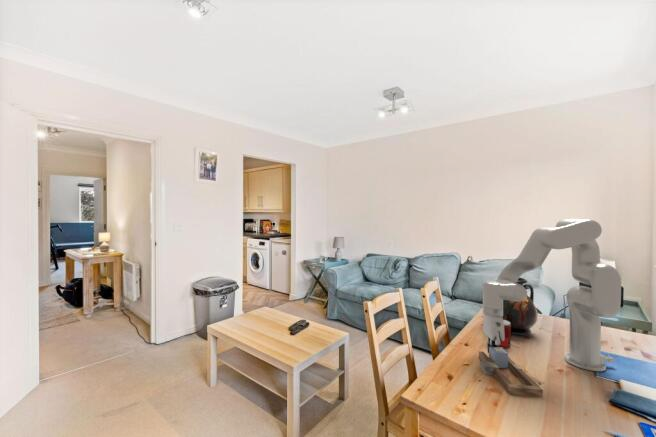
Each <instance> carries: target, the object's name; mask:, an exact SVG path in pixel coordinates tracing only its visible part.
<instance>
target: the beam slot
mask: <svg viewBox="0 0 656 437" xmlns="http://www.w3.org/2000/svg"><path fill="white" fill-rule="evenodd" d="M478 358H479V359H480V370H481V371H482V372H483V373H484V375H490V376H494V377H495V378H496V379H497V381H498V382H499V383H500V384H501V386H502V387H503V388H504V390H506V391H507V393H509V395H513V396H515V395H516V396H528V397H540V398H541V397H543V395H544V394H543V392H544V389H543V388H542V387H541V386H540V385H539V384H537V383H536V382H535V381H534V380H533V379H532V377H531V376H529V375H528V374H527V373H526V372H525V371H524V370H523V368H522V367H521V366H520V365H518V364H516V362H514V361H513V359H511V358H510V357H509V356H508V369H509V370H510V371H511V372H513V374H515V375H516V378H519V380H520V381H521V382H522V383H523V384H513V382H511V380H510V379H509V378H508V377H507V376H506V375H505V374H504V372H502V371H501V369H500V368H498V366H497V365H496V364H495V363H493V362H492V361H491V360H490V358H489V355H488V354H486V353H485V352H484V351H481V350H479V351H478Z"/></svg>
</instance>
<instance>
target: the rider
mask: <svg viewBox="0 0 656 437" xmlns="http://www.w3.org/2000/svg"><path fill="white" fill-rule="evenodd" d="M488 357H489V358H490V360H491V361H492V362H493V363H495V364H496V365H497V366H498V368H499V369H500V368H501V369H509V367H508V357H509V353H508V352H507V351H506V350H505V348H502V347H489V353H488Z"/></svg>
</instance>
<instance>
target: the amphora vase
mask: <svg viewBox="0 0 656 437" xmlns="http://www.w3.org/2000/svg"><path fill="white" fill-rule="evenodd" d="M516 283H518V284H520V285H522V286H523V287H524V288H525V289H526V288H527V287H528V288H529V292H530V294H529V295H528V294H527V297H526V298H525V299H524V300H523V301H519V302H514V301H509V300H503V320H506V321H509V322H510V324H511V337H512V336H514V337H521V338H523V337H529V336H531V334H532V329H531V328H533V327H534V325H536V324H537V321H538V311H537V307H536V306H535V303H534V294H535V291H534V288H533V286H532V285H531V284H527V283H528V280H527V279H525V278H522V277H519V278H518V280H517V281H516Z"/></svg>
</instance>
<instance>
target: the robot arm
mask: <svg viewBox="0 0 656 437" xmlns="http://www.w3.org/2000/svg"><path fill="white" fill-rule="evenodd" d="M602 230H603V228H602V226H601V224H600V223H599V222H598V221H596V220H594V219H591V218H565V219H562V220H561V219H560V220H559V221H558V222H556V224H555V227H548V226H547V227H545V226H543V227H538V228H536V229H534V231H533V232H532V233H531V235H530V236H529V238H528V240H527V242H526V243H525V245H524V246H523V248H522V250H521V251H520V253H519V255H518V256H517V257H516V258H515V259H513V260H512V261H511V262H509V263H508V264H507V265H506V266H505V267H504V268H503V269H502V270H501V272H500V273H499V275H498V277H497V279H496V280H485V281H484V282H483V283H482V314H483V316H482V317H483V318H482V331H483V333H484V335H485V336H486V342H487V354H489V347H497V346H498V345H500V340H501V341H504V340H505V335H504V322H503V300H509V301H514V302H519V301H523V300H524V299H525V298H526V297H527V295H528V290H527V289H526V288H524V287H523V286H522V285H520V284H518V283H516V281H517V280H518V278H521V276H523V275H524V274H525V273H527V272H530V271H535V270H537V269H539V268H541V267H543V266H542V265H543V264H544V262H545V260H546V259H547V257H548V256H549V254H550V252H551V251H552V250H565V249H569V248H571V276H572V278H573V280H575V281H576V282H578V283H581V284H584V285H587V286H584V285H575V286H572V287H571V288H569V290H567V293H566V301H567V302H566V303H567V306H568V312H569V341H568V342H569V343H568V344H569V345H568V346H569V347H568V348H569V349H568V352H569V353H565V354H564V360H565V361H566V362H567V363H568V364H570V365H572V366H575V367H577V368H581V369H583V370H586V371H593V372H604V371H606V369H607V366H606V364H605V363H615V359H614V357H612V356H605V355H604V354H602V353H601V352H602V349H601V348H602V346H601V345H602V343H601V341H602V340H601V339H602V335H601V334H602V333H601V332H602V323H601V319H600V318H604V319H611V318H613V317H616V316H617V315H618V314H619V312H620V309H621V306H622V305H621V304H622V302H621V301H622V278H621V275H620V273H619V271H618V269H616V268H615V267H614V266H612V265H609V264H607V263H602V262H601V253H600V252H601V251H600V246H599V243H598V241H597V239H598V238H600V236H601V234H602V232H603V231H602ZM589 286H591V287H589Z"/></svg>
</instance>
